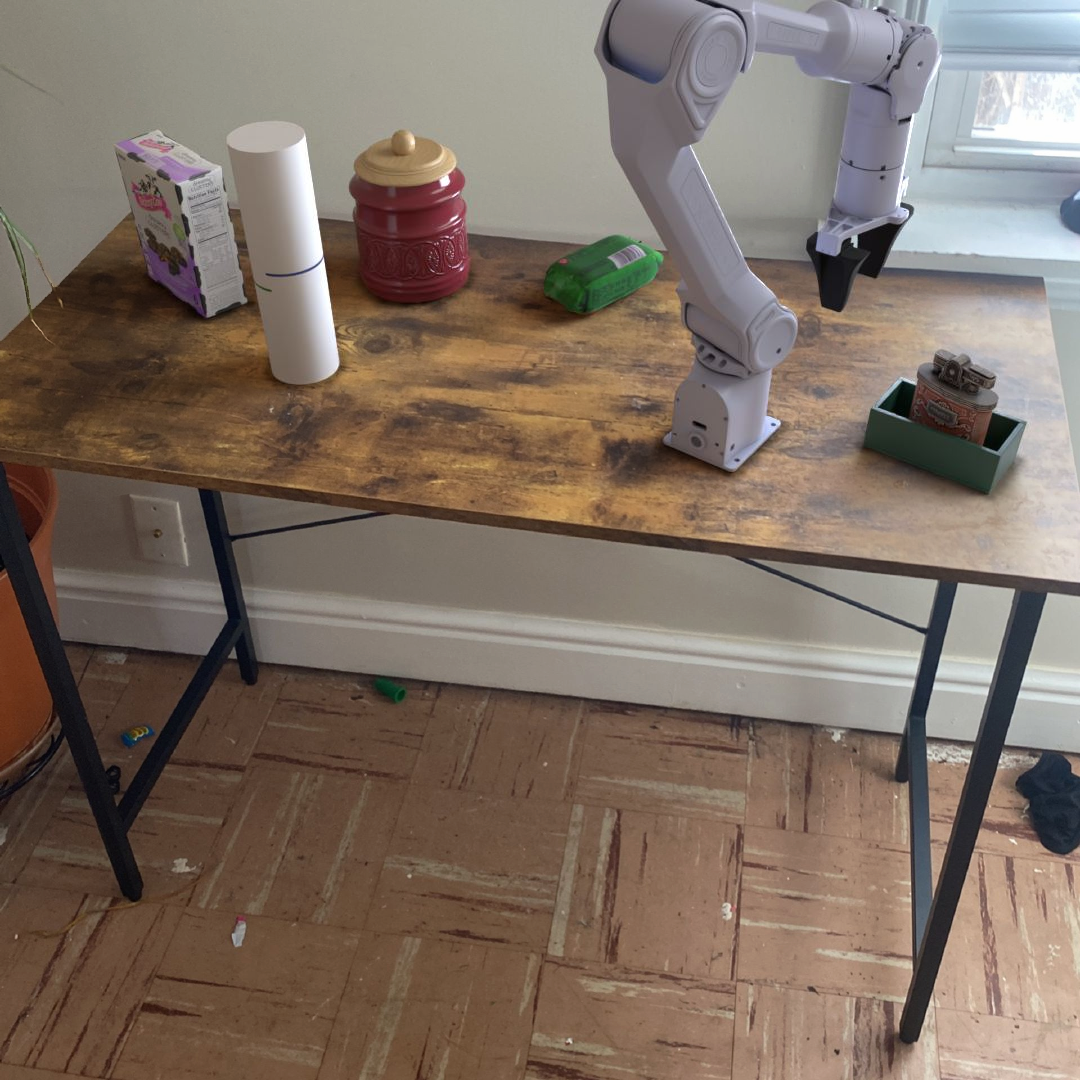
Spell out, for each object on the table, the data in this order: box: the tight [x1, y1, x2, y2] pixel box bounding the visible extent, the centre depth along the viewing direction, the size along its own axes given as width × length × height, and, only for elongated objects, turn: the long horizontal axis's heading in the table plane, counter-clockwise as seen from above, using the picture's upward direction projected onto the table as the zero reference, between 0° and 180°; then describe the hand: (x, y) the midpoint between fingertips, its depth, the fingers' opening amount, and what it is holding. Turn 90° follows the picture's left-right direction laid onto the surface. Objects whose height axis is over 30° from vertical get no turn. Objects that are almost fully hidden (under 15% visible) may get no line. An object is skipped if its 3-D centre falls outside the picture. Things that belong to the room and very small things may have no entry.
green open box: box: [862, 376, 1028, 495], centre depth 111 cm, size 6×12×4 cm, turn 53°
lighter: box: [909, 348, 1000, 446], centre depth 109 cm, size 8×3×10 cm, turn 39°
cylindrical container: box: [226, 120, 340, 386], centre depth 117 cm, size 7×7×25 cm
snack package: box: [542, 234, 665, 316], centre depth 134 cm, size 7×16×5 cm, turn 131°
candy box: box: [113, 129, 248, 319], centre depth 132 cm, size 14×6×16 cm, turn 42°
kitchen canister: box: [348, 129, 471, 304], centre depth 133 cm, size 13×13×18 cm
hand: (850, 291), depth 114 cm, fingers open, 7 cm apart
